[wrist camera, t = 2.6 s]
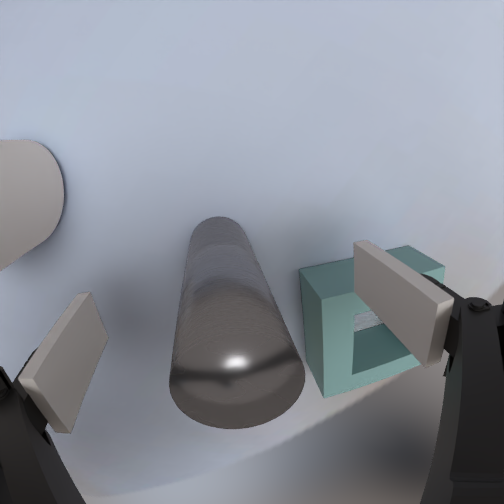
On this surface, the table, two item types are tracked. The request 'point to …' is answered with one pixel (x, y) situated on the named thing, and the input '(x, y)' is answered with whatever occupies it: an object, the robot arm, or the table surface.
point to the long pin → (230, 336)
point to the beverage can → (27, 197)
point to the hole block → (352, 326)
